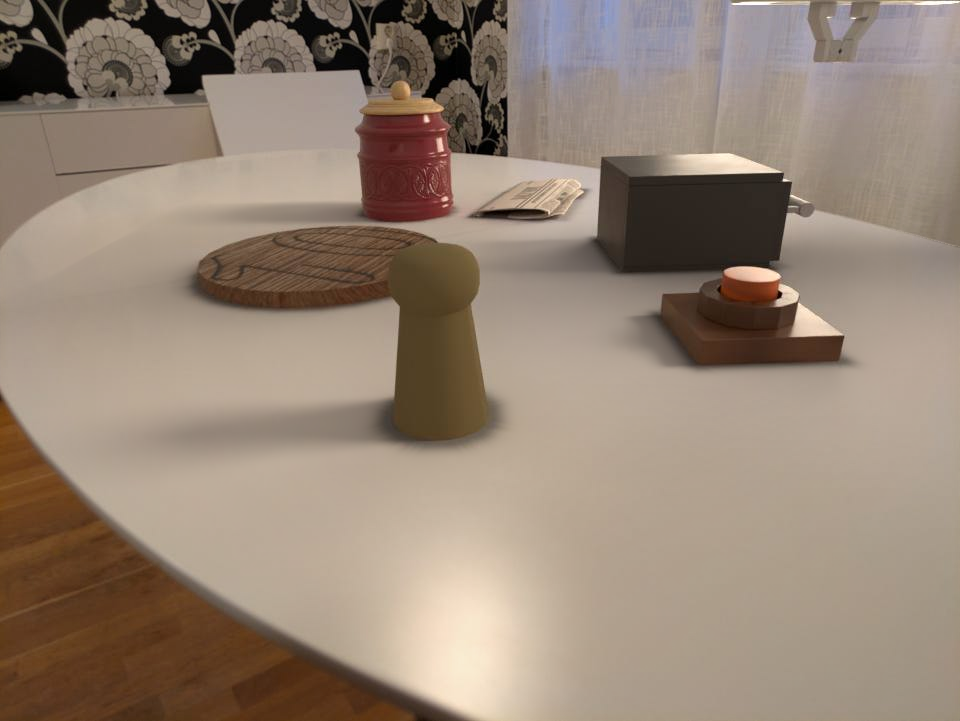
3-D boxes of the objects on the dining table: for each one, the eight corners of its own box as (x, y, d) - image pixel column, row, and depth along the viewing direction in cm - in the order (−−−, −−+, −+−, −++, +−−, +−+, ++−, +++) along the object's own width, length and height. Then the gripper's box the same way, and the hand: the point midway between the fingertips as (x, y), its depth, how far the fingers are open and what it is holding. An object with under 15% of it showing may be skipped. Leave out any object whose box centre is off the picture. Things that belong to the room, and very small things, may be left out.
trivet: (373, 325, 57) (371, 303, 56) (143, 296, 65) (139, 277, 64) (477, 249, 78) (476, 233, 77) (294, 235, 86) (292, 220, 85)
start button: (763, 287, 52) (767, 265, 52) (786, 304, 49) (790, 281, 48) (712, 288, 52) (715, 266, 52) (731, 306, 49) (734, 283, 48)
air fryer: (719, 238, 80) (730, 153, 76) (768, 272, 68) (784, 172, 64) (596, 241, 80) (601, 156, 76) (622, 276, 67) (629, 176, 63)
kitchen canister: (386, 229, 88) (374, 83, 81) (348, 212, 98) (335, 81, 91) (470, 216, 94) (467, 79, 87) (427, 201, 104) (420, 78, 97)
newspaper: (562, 224, 88) (561, 205, 87) (475, 228, 93) (473, 210, 92) (593, 191, 108) (592, 175, 107) (520, 196, 112) (518, 180, 111)
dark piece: (767, 230, 79) (778, 161, 76) (819, 259, 68) (835, 180, 65) (618, 234, 79) (622, 165, 76) (645, 264, 68) (652, 185, 64)
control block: (777, 315, 57) (785, 270, 55) (838, 365, 48) (850, 312, 46) (659, 319, 56) (664, 273, 55) (698, 370, 47) (705, 317, 46)
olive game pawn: (372, 423, 41) (354, 249, 37) (442, 389, 45) (434, 228, 41) (440, 458, 38) (429, 269, 33) (510, 418, 42) (509, 244, 37)
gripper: (970, -117, 57) (926, 61, 63) (731, -117, 57) (709, 62, 62) (1027, -136, 51) (972, 62, 57) (761, -137, 51) (733, 63, 57)
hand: (833, 62), depth 60 cm, fingers closed
